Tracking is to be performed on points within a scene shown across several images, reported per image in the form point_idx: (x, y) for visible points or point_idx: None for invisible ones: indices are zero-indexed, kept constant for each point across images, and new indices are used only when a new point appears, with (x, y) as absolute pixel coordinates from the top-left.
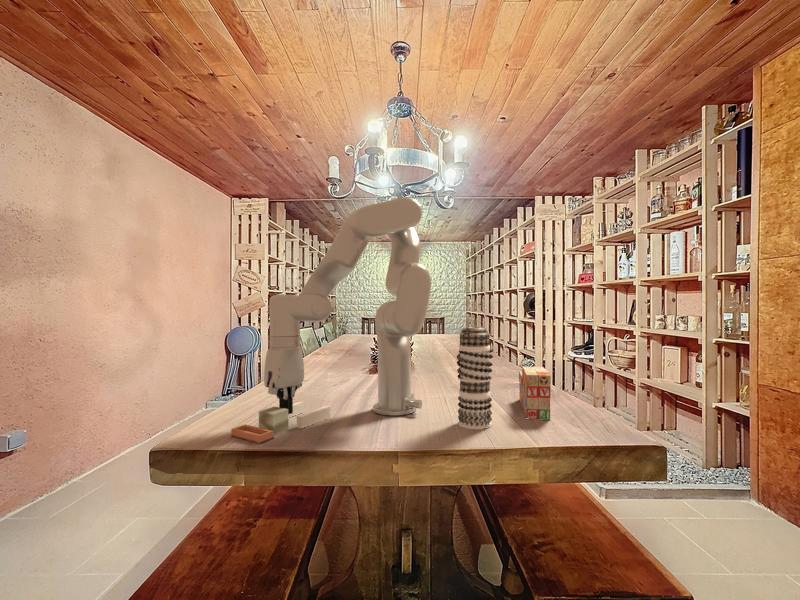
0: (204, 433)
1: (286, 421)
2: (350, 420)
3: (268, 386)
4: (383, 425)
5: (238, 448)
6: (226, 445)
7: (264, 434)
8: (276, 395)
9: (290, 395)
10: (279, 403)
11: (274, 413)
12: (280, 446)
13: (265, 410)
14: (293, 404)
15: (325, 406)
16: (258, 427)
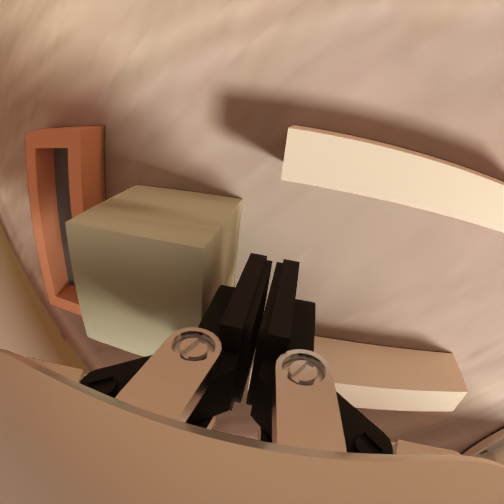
0: (43, 4)
1: None
2: (407, 431)
3: (8, 363)
4: None
5: (21, 248)
6: (11, 193)
7: (64, 309)
8: (131, 365)
9: (260, 425)
10: (204, 315)
11: (98, 338)
12: (95, 352)
13: (96, 255)
14: (500, 205)
15: (457, 395)
16: None
